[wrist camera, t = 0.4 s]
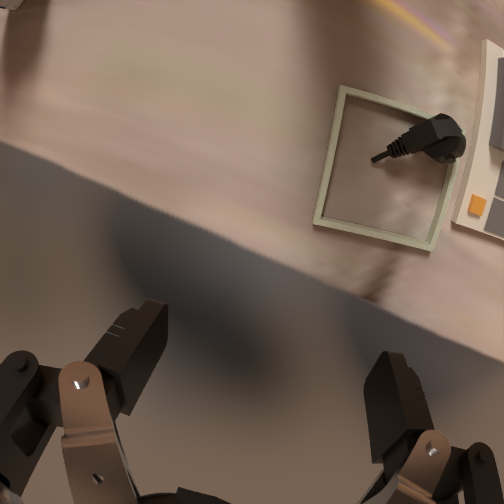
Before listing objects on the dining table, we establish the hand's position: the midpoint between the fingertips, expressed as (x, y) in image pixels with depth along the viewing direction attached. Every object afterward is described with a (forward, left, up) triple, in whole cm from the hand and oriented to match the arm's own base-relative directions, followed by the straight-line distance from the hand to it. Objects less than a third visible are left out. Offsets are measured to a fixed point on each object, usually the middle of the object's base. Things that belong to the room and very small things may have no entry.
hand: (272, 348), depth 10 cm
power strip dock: (-15, +31, -29) cm, 45 cm away
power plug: (-5, +12, -31) cm, 33 cm away
